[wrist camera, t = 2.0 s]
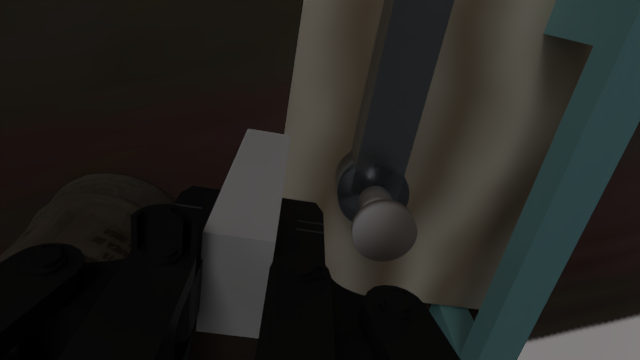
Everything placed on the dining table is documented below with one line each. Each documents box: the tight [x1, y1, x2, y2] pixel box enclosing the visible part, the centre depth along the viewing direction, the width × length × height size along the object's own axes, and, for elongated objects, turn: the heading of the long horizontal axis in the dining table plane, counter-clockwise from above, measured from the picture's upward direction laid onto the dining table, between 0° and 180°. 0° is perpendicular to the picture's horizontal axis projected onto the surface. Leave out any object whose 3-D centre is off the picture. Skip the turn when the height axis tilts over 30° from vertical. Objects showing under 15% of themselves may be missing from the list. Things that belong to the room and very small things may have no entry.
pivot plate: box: [282, 0, 593, 309], centre depth 26 cm, size 20×25×9 cm
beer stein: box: [0, 173, 175, 351], centre depth 25 cm, size 15×11×20 cm
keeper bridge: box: [429, 0, 640, 360], centre depth 28 cm, size 2×26×8 cm, turn 170°
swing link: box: [335, 0, 454, 222], centre depth 25 cm, size 15×4×3 cm, turn 170°
